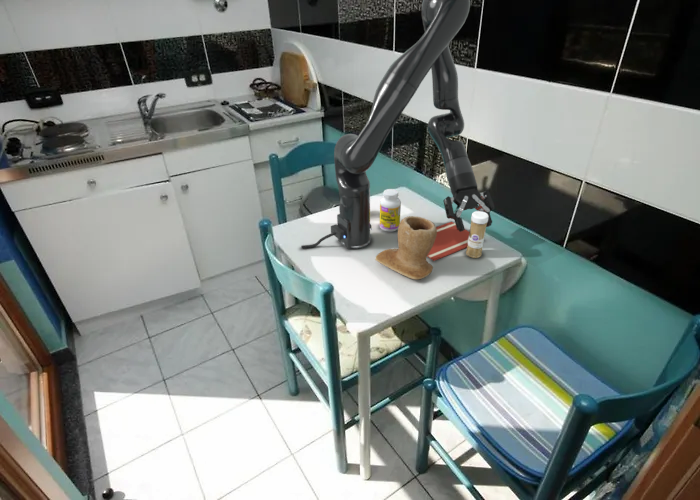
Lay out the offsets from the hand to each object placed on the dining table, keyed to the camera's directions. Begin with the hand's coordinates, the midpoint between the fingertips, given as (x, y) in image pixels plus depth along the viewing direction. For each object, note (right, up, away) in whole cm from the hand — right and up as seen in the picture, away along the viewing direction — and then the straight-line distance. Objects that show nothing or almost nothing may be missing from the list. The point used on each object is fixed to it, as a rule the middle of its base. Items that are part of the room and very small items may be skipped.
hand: (475, 228), depth 119 cm
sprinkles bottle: (+1, -8, +4) cm, 9 cm away
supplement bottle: (-23, +1, +19) cm, 30 cm away
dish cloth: (-7, -3, +11) cm, 13 cm away
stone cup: (-20, -11, 0) cm, 22 cm away
